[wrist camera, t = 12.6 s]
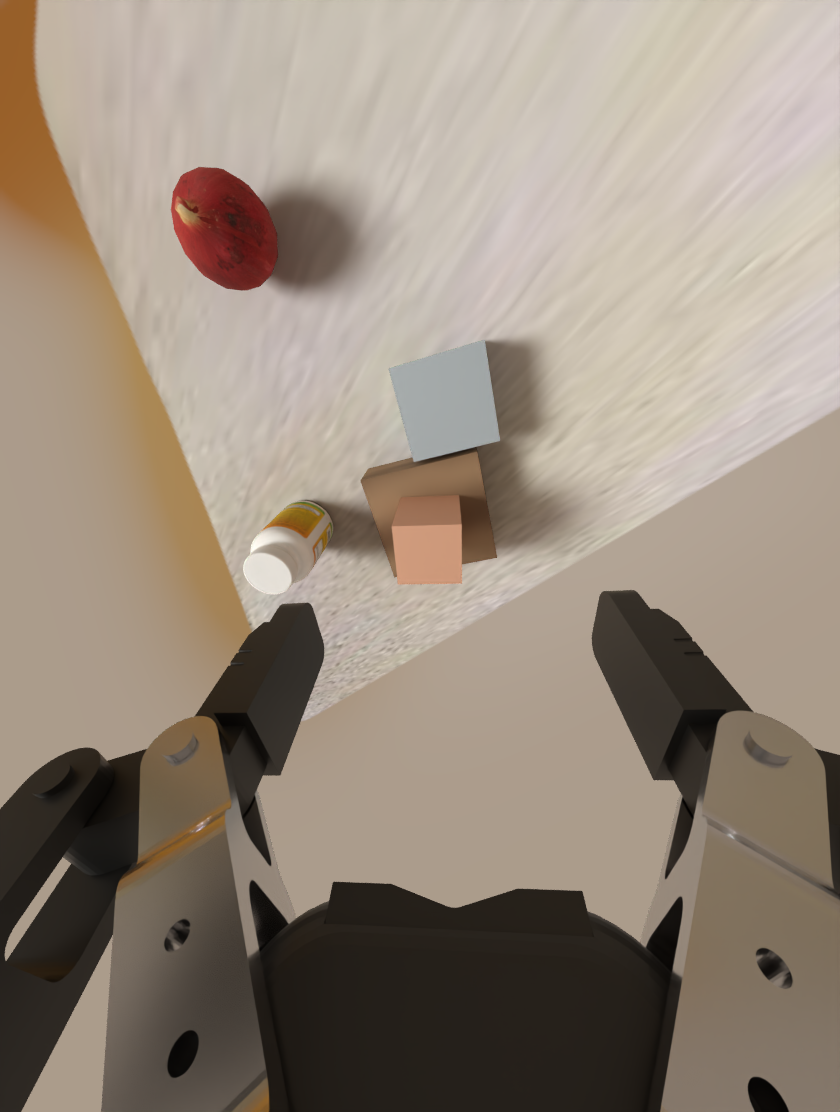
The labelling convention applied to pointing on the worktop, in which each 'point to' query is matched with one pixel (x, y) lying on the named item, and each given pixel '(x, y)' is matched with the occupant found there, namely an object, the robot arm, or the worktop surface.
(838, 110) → the worktop surface
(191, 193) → the red oval lump
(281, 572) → the supplement bottle
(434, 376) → the slate block
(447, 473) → the walnut block
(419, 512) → the terracotta block
